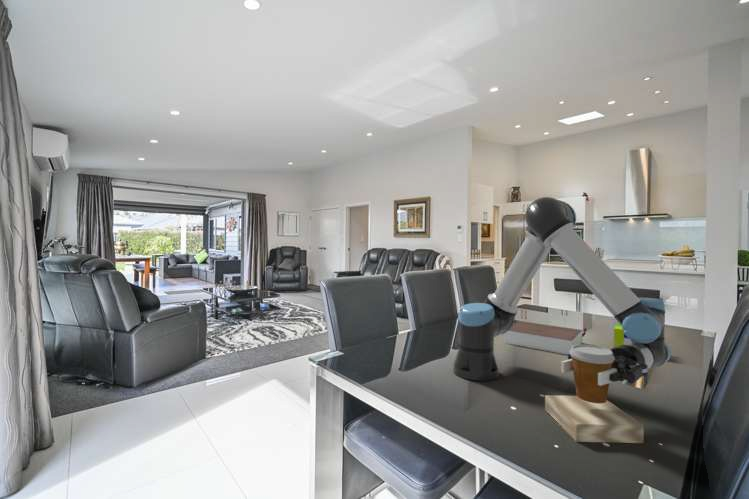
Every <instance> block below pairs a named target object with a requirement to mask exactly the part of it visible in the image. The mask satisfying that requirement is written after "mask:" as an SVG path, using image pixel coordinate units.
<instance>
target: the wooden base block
mask: <svg viewBox="0 0 749 499" xmlns="http://www.w3.org/2000/svg"><path fill="white" fill-rule="evenodd" d="M544 411H546V413H547V414H548V413H549V414H550V415H551V416H552V417H553V418H554V419H555V420H556V421H557V422H558V423H559V424H558V423H557V422H556V421H555V420H554V419H553V420H554V421H555V422H556V423H557V424H558V425H559V426H560V425H561V426H562V427H561V426H560V427H561V428H562V429H563V430H564V431H565V432H566V433H567V434H568V435H569V436H570V438H572V440H574V441H575V442H577V443H614V444H615V443H616V444H617V443H622V444H623V443H627V444H628V443H629V444H644V435H645V433H644V432H645V431H644V430H645V425H644V424H642V423H640V422H639V421H638V420H637V419H635V418H634V417H632V416H631V415H629V414H628V413H626V412H625V411H624V410H622V409H621V408H619V407H617V406H616V405H615V404H614V403H612V402H610V401H609V400H607V401H606V402H605V403H591V402H587V401H584V400H582V399H580V398H578V397H577V395H549V394H547V395H544ZM550 415H549V416H550ZM551 416H550V417H551ZM552 417H551V418H552Z"/></svg>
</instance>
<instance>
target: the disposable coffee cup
mask: <svg viewBox="0 0 749 499" xmlns="http://www.w3.org/2000/svg"><path fill="white" fill-rule="evenodd" d="M569 353H570V354H571V357H572V364H573V378H574V379H573V380H574V385H575V394H576V395H575V396H577V397H578V398H580V399H582V400H584V401H587V402H591V403H605V402H606V401H607V398H608V393H609V386H610V383H608V384H605V385H602V386H601V385H598V373H599V372H602V371H606V370H609V369H612V363H613V362H614V360H615V357H614V356H613V352H612V351H611V349H609V348H606V347H601V346H597V345H593V344H592V345H591V344H580V345H573V346H572V348H571V350H570V351H569Z"/></svg>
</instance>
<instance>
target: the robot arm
mask: <svg viewBox="0 0 749 499" xmlns="http://www.w3.org/2000/svg"><path fill="white" fill-rule="evenodd" d="M576 214H577V213H576V211H575V209H574V208H573V207H572V206H571V205H570V204H569V203H567V202H566V201H563V200H559V199H557V198H554V197H550V196H549V197H548V196H543V197H540V198H537V199H535V200H533V201H532V202H531V203H529V205H528V206H527V208H526V210H525V214H524V216H525V217H524V218H525V222H526V225H527V226H526V228H525V230H524V231H525V234H526V237H525V239H524V241H523V243H522V244H521V245H520V247H519V250H518V251H517V253H516V254H515V256H514V258H513V260H512V261H511V263H510V265H509V267H508V269H507V270H506V272H505V274H504V275H503V277H502V279H501V281H500V282H499V284H498V286H497V288H496V289H495V291H494V292H493V293H489V294H488V295H487V297H486V299H485V300H484V302H473V303H470V302H469V303H467V304H466V303H465V304H463V305H462V306H460V308H459V310H458V311H459V312H458V313H459V314H458V350H457V352H456V356H455V359H454V361H453V364H452V365H453V368H452V369H453V370H452V371H453V373H454V374H455V375H457V376H458V377H461V378H462V379H466V380H470V381H477V382H478V381H479V382H487V381H494V380H496V379H498V378H499V374H500V373H499V371H500V370H499V369H500V368H499V366H498V363H497V359H496V356H495V352H494V348H495V347H494V345H495V344H494V342H495V340H494V339H495V338H496V337H498V336H500V335H503V334H504V333H506V332H507V331H509V330H510V329H511V327H512V326H513V324H514V323H515V319H516V318H515V317H516V315H517V313H518V312H519V310H518V306H517V305H518V303H519V302H520V300H521V299H522V297H523V295H524V294H525V292H526V290H527V288H528V287H529V285H530V284H531V282H532V281H533V279H534V277H535V275H536V273H537V272H538V271H539V269H540V267H541V265H542V264H543V262H544V260H545V259H546V258H547V256H548V255H549V252H550V251H551V249H553V250H554V251H555V253H556V254H557V255H558V256H559V257H560V258H561V259H562V260H563V262H564V263H565V264H566V265H567V266H568V267H569V268H570V270H572V272H573V273H575V275H576V276H577V277H578V278H579V279H580V280H581V281H582V283H583V284H584V285H585V286H586V287H587V288H588V289H589V291H590V292H591V293H592V294H593V295H594V296H595V297H596V298H597V300H598V301H599V302H600V303H601V304H602V305H603V306H604V307H605V308H606V309H607V311H608V312H609V313H610V314H611V316H612V317H613V318H614V319H615V320H616V321H617V322H618V323H619V325H622V329H623V331H624V334H625V335H626V336H627V337H628V338H629V339H630V340H631V343H627V344H623V345H620V346H616V347H614V346H613V347H612V348H610V350H611V351H612V352H613V356H614V357H615V360H614V362H613V363H612V369H609V370H606V371H602V372H599V373H598V385H601V386H602V385H605V384H608V383H609V384H611V383H613V382H616V383H617V382H618V381H619V382H624V381H627V383H629V384H634V383H637V381H639V380H640V379H641V378H642V377H646V376H648V370H649V369H653V368H657V367H660V366H663V365H664V364H665V363H667V362H669V360H670V358H671V355H672V353H671V349H670V347H669V345H668V344H667V343H666V342H665V341H666V340H665V325H666V323H665V322H666V320H665V319H666V310H665V302H664V301H663V300H662V299H659V298H652V297H651V298H650V297H638V296H637V295H636V294H635V293H634V292H633V291H632V290H631V289H630V287H629V286H627V285H626V284H625V282H624V281H623V280H622V279H621V278H620V277H619V276H618V275H617V274H616V273H615V272H614V271H613V270H612V269H611V268H610V266H608V264H607V263H606V262H605V261H604V260H603V259H602V258H601V257H600V256H599V255H598V254H597V253H596V252H595V251H594V250H593V249H592V247H591V246H589V245H588V243H587V242H586V241H585V240H584V239H583V238H582V237H581V236H580V235H579V234H578V233H577V232H576V230H574V227H575V225H576V223H577V215H576ZM572 371H573V364H572V357H571V354H568V355H567V359H566V360H561V361H560V373H562V374H565V373H569V372H572Z"/></svg>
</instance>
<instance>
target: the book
mask: <svg viewBox="0 0 749 499" xmlns="http://www.w3.org/2000/svg"><path fill="white" fill-rule="evenodd" d="M502 336H503V338H502V341H503V342H502V343H503V344H508V345H513V346H518V345H519V347H523V346H524V347H525V348H528V349H535V350H539V351H545V352H551V353H555V354H562V355H565V356H566V355H567V356H568V354H570V353H569V351H570V350H571V348H572V346H573V345H583V329H577V328H572V327H564V326H557V325H550V324H544V323H536V322H532V321H531V322H530V321H523V320H518V321H516V322H514V324H513V326H512V327H511V329H510V330H509V331H507V332H506V333H504V334H502ZM524 347H523V348H524Z"/></svg>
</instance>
